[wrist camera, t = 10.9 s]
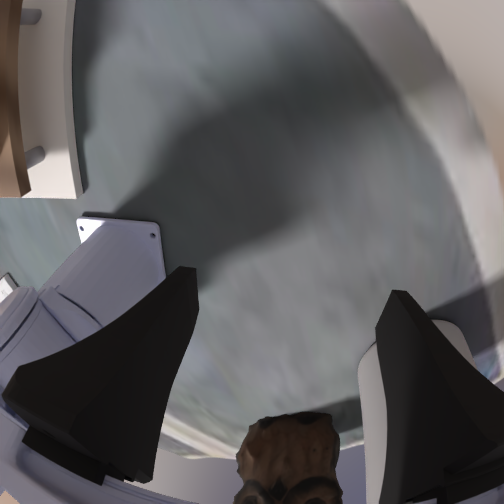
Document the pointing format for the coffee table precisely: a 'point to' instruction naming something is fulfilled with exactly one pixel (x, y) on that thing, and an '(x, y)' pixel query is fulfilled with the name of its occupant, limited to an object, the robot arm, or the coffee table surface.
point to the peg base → (48, 98)
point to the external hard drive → (6, 287)
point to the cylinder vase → (377, 411)
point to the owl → (290, 461)
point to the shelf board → (11, 105)
